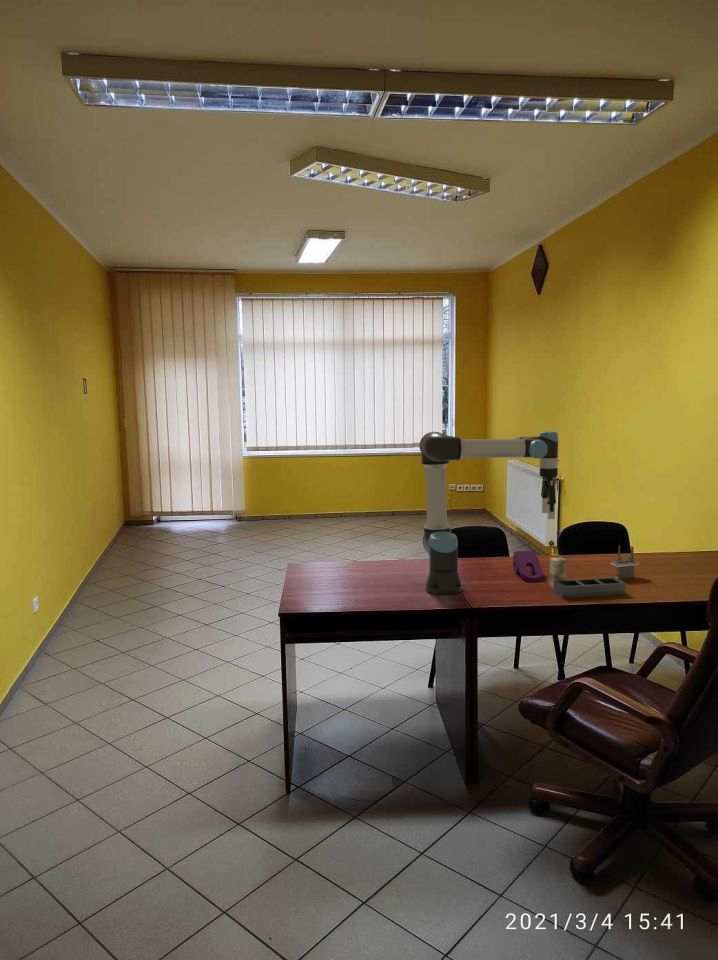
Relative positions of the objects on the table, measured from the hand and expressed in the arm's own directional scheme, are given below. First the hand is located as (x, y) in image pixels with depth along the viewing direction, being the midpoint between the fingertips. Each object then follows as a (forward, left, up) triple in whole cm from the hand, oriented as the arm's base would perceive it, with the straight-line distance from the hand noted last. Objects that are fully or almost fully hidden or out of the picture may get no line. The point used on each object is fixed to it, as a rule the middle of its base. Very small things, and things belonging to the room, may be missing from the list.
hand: (548, 516), depth 287 cm
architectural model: (+31, -8, -28) cm, 42 cm away
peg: (-2, -16, -27) cm, 31 cm away
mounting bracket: (-8, +2, -27) cm, 28 cm away
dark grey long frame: (+7, -26, -27) cm, 38 cm away
